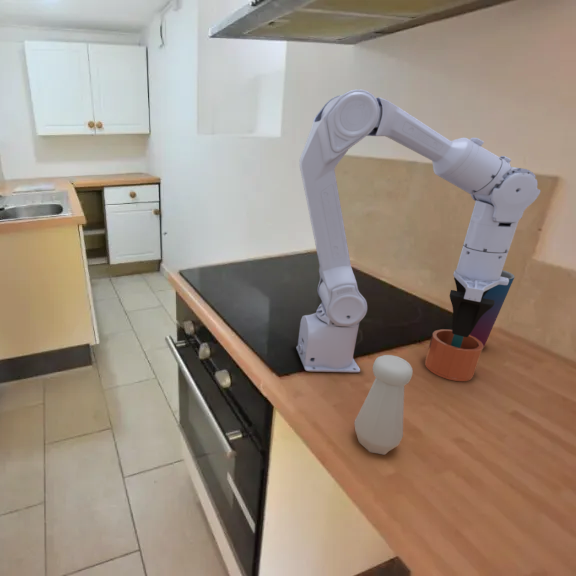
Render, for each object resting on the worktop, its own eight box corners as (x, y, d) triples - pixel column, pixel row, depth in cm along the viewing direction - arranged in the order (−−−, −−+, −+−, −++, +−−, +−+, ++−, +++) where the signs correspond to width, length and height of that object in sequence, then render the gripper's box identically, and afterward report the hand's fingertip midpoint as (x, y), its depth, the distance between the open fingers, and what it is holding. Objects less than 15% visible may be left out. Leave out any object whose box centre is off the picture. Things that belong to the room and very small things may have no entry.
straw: (450, 369, 66) (465, 321, 62) (442, 365, 67) (456, 317, 64) (455, 367, 66) (471, 319, 63) (448, 363, 68) (462, 316, 64)
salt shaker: (375, 465, 48) (397, 379, 43) (342, 434, 52) (357, 354, 48) (408, 451, 50) (432, 368, 45) (373, 422, 55) (391, 344, 50)
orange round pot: (438, 380, 64) (448, 350, 61) (417, 357, 70) (424, 328, 68) (482, 381, 64) (493, 351, 61) (456, 358, 70) (465, 329, 68)
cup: (476, 335, 78) (498, 266, 72) (497, 353, 71) (524, 279, 66) (441, 334, 78) (461, 265, 73) (459, 351, 72) (482, 278, 66)
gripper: (521, 265, 51) (490, 351, 56) (516, 241, 62) (491, 316, 67) (458, 255, 55) (435, 337, 60) (464, 235, 66) (444, 306, 71)
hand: (461, 325), depth 64 cm, fingers open, 7 cm apart
